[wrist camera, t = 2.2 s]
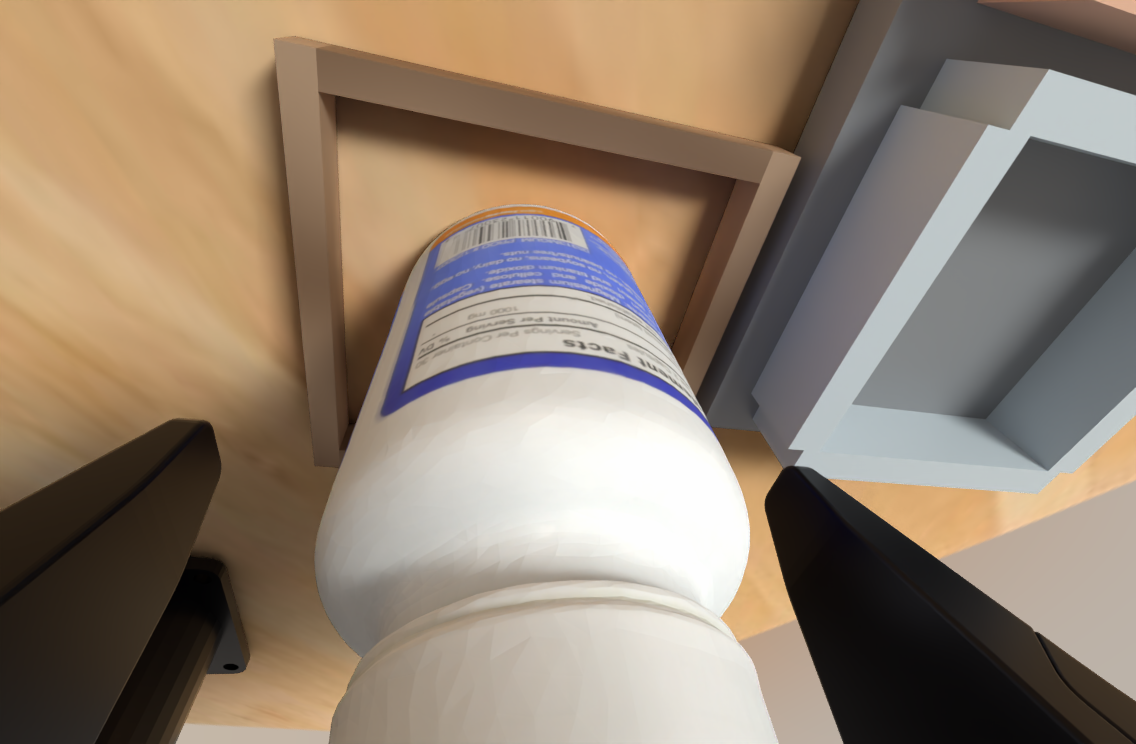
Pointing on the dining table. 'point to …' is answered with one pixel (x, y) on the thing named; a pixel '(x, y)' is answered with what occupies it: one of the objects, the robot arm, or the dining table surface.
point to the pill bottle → (535, 512)
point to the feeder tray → (333, 70)
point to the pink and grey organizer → (950, 253)
